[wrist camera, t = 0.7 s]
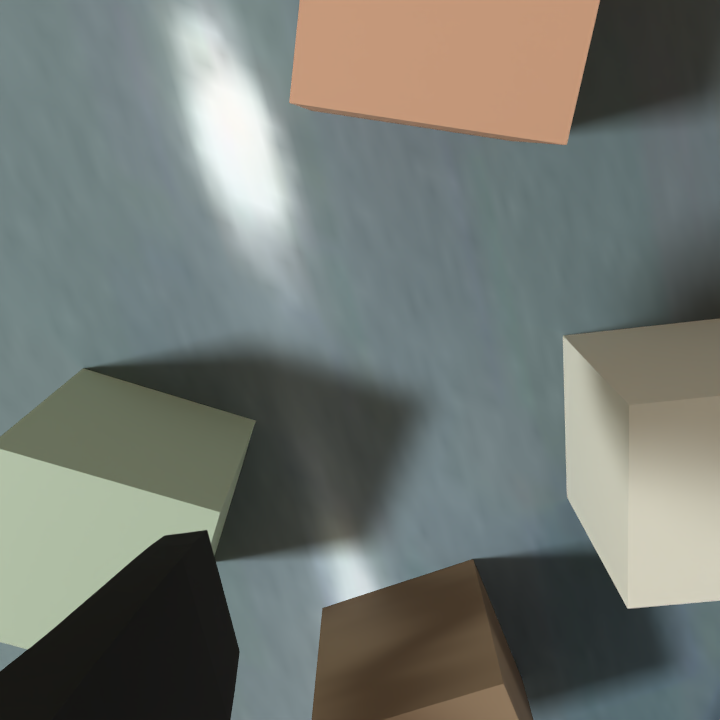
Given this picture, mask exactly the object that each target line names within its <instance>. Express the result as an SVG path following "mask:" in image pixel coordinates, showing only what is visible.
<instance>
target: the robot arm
mask: <svg viewBox="0 0 720 720" xmlns="http://www.w3.org/2000/svg"><path fill="white" fill-rule="evenodd" d="M238 659H239V647H238V644H237V640H236V636H235V632H234V629H233V625H232V621H231V617H230V614H229V610H228V606H227V602H226V598H225V595H224V591H223V587H222V583H221V580H220V576H219V572H218V568H217V565H216V561H215V557H214V553H213V550H212V546H211V542H210V538H209V535H208V531H207V530H203V531H195V532H188V533H180V534H172V535H165V536H163V537H162V538H160V539H159V540H157V541H156V542H155V543H153V544H152V545H151V546H149V547H148V548H147V549H146V550H144V551H143V552H142V553H141V554H139V555H138V556H137V557H136V558H135V559H134V560H132V561H131V562H130V563H129V564H128V565H126V566H125V567H124V568H123V569H122V570H121V571H120V572H118V573H117V574H116V575H115V576H114V577H113V578H111V579H110V580H109V581H108V582H107V583H106V584H105V585H103V586H102V587H101V588H100V589H99V590H98V591H96V592H95V593H94V594H93V595H92V596H91V597H90V598H88V599H87V600H86V601H85V602H84V603H83V604H81V605H80V606H79V607H78V608H77V609H76V610H74V611H73V612H72V613H71V614H70V615H69V616H67V617H66V618H65V619H64V620H63V621H62V622H60V623H59V624H58V625H57V626H56V627H55V628H54V629H52V630H51V631H50V632H49V633H48V634H46V635H45V636H44V637H43V638H41V639H40V640H39V641H38V642H36V643H35V644H34V645H33V646H31V647H30V648H29V649H28V650H27V651H25V652H24V653H23V654H22V655H20V656H19V657H18V658H17V659H15V660H14V661H13V662H12V663H10V664H9V665H8V666H7V667H5V668H4V669H3V670H2V671H0V720H230V718H231V711H232V705H233V698H234V692H235V684H236V676H237V667H238ZM719 720H720V719H719Z"/></svg>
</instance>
